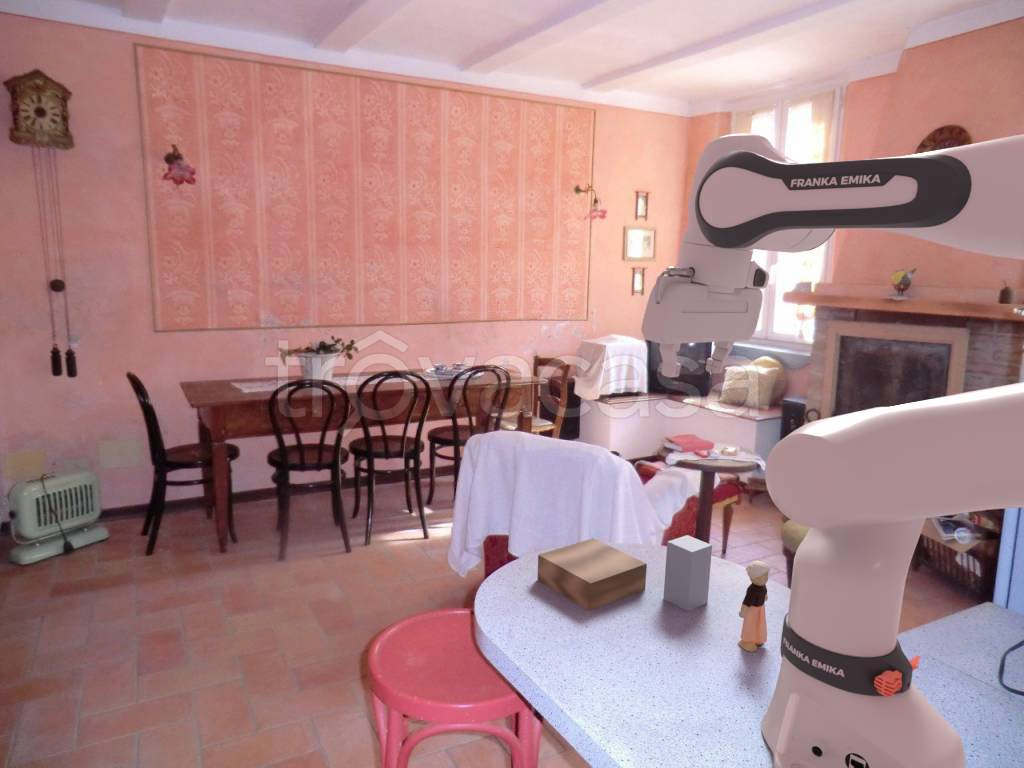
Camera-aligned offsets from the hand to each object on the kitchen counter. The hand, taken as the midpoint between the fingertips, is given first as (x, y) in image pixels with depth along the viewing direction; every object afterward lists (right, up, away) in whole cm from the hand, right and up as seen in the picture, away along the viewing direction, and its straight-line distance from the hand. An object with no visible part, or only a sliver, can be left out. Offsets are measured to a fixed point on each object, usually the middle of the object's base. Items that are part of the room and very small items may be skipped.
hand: (692, 374), depth 91 cm
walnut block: (-10, -36, +27) cm, 46 cm away
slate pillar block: (+5, -37, +22) cm, 43 cm away
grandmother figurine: (+11, -39, +10) cm, 42 cm away
